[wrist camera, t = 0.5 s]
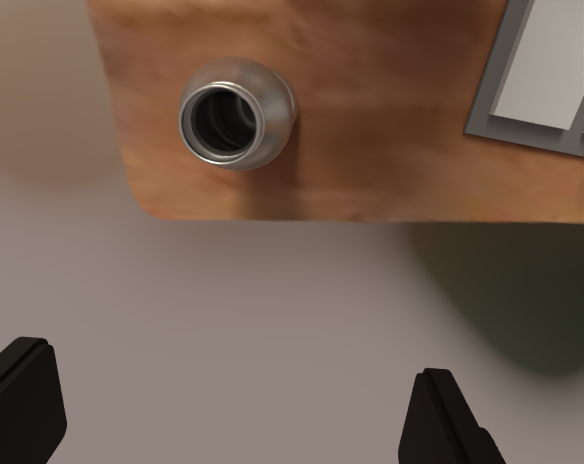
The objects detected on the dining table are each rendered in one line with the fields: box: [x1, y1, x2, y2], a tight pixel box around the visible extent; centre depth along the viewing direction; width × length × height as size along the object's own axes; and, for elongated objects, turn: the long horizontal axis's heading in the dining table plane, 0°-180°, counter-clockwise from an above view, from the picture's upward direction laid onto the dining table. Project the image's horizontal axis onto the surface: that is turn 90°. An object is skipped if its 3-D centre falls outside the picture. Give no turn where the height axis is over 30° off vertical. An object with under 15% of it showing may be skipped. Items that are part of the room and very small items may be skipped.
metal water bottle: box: [178, 57, 298, 171], centre depth 27 cm, size 6×7×20 cm
